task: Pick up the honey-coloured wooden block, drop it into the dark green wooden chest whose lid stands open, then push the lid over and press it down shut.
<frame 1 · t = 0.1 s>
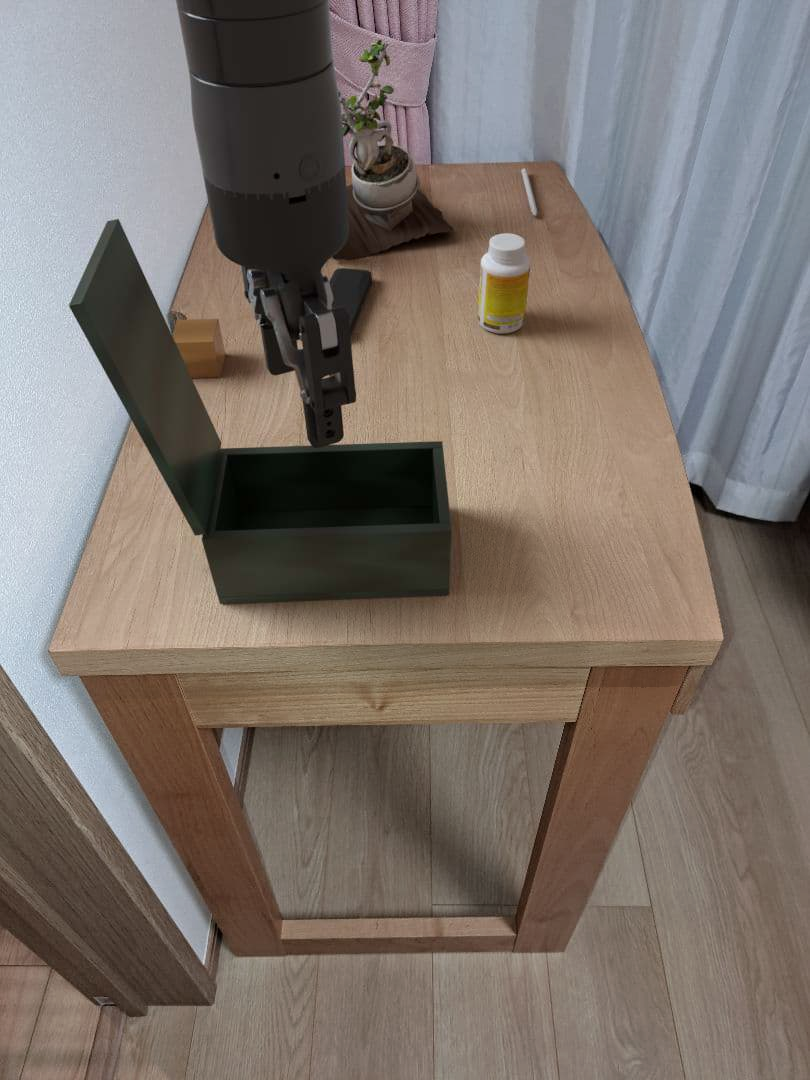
hand: (304, 404, 55), 20 cm above the table, tool pointing down, fingers open, 8 cm apart
block: (202, 366, 93), on the table
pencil: (529, 196, 121), on the table
remote control: (341, 310, 101), on the table
chest: (335, 552, 73), on the table
supplement bottle: (500, 324, 98), on the table
potted plant: (366, 226, 116), on the table
lid: (159, 387, 59), point 18 cm above the table, hinge at 100.0°
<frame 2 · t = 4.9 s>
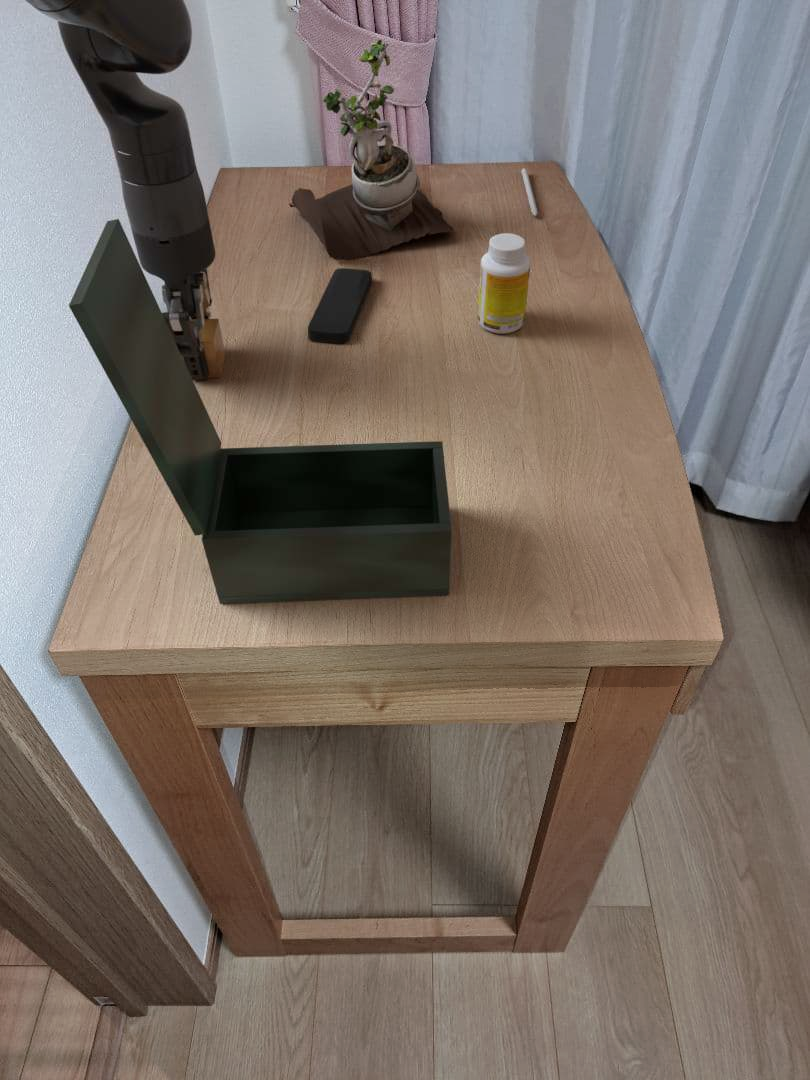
hand: (202, 363, 92), 0 cm above the table, tool pointing down, fingers closed on block, 4 cm apart
block: (202, 366, 93), on the table, touching gripper
everything else where it was.
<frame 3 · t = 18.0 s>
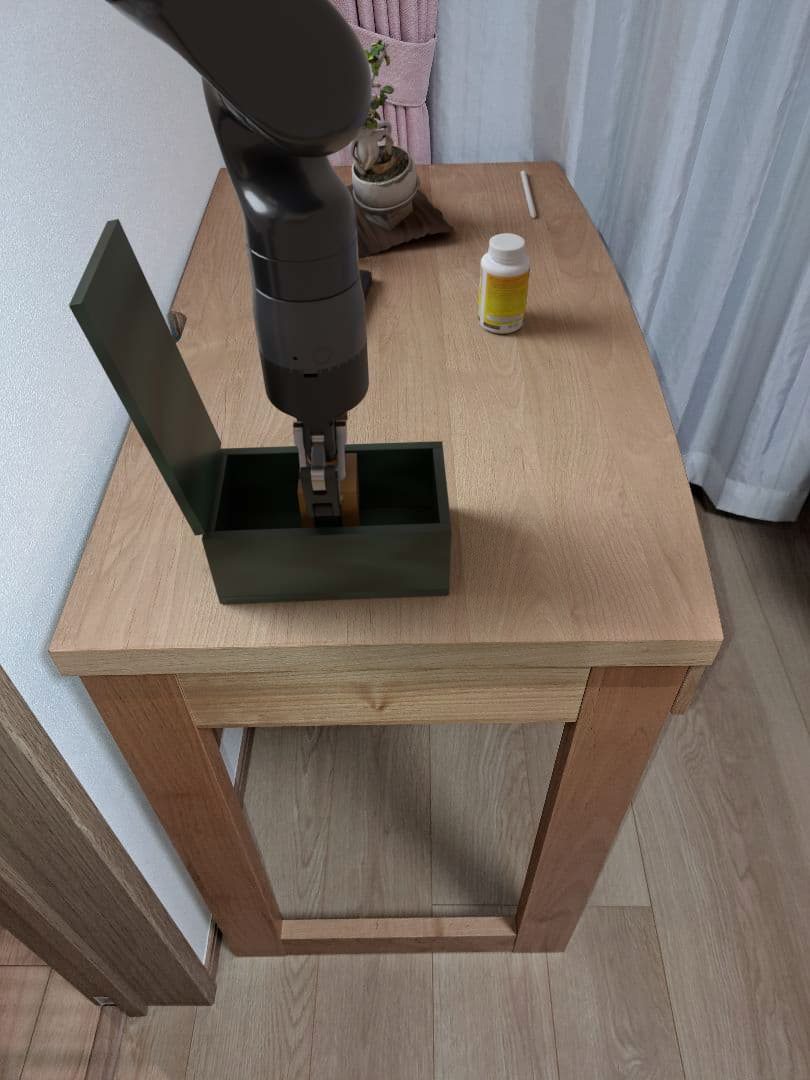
hand: (330, 510, 69), 5 cm above the table, tool pointing down, fingers closed on block, 4 cm apart
block: (331, 513, 69), point 5 cm above the table, touching gripper
everything else where it was.
when the fingers open (7 cm above the table, at t = 26.9 s): block drops 6 cm, resting on chest.
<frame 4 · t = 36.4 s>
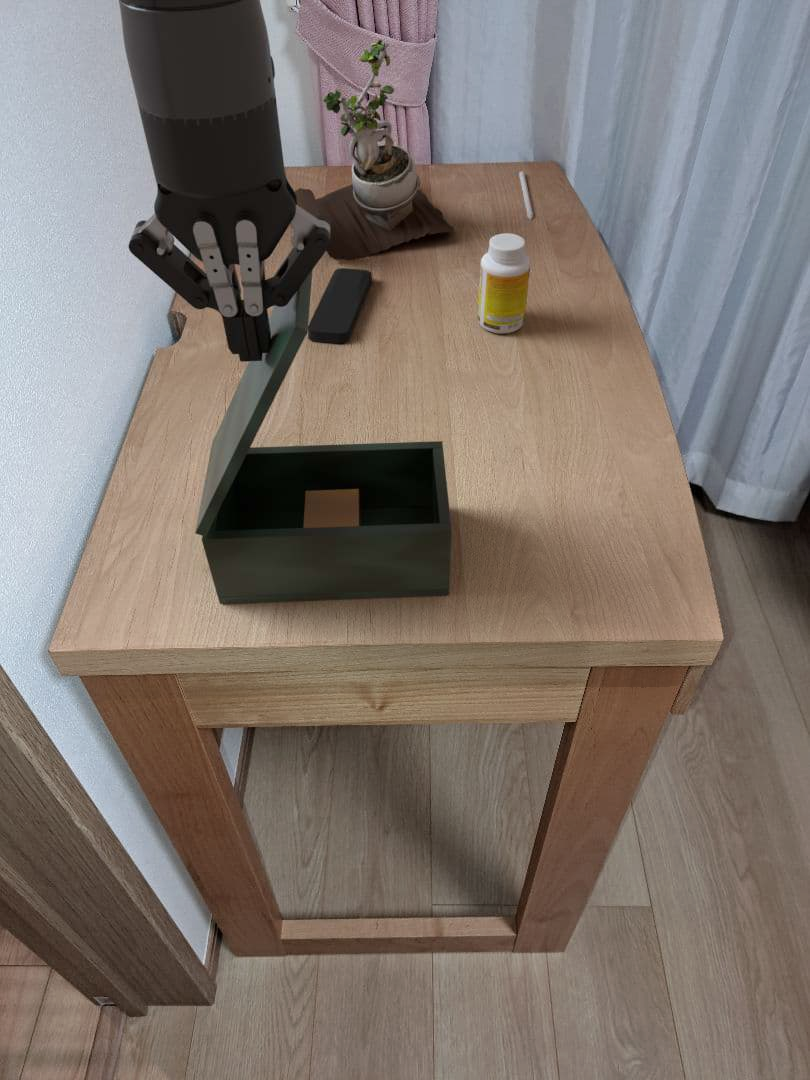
hand: (252, 354, 58), 21 cm above the table, tool pointing down, fingers closed
block: (335, 545, 72), point 1 cm above the table, touching chest
lid: (252, 395, 60), point 17 cm above the table, hinge at 61.6°, touching gripper
everything else where it was.
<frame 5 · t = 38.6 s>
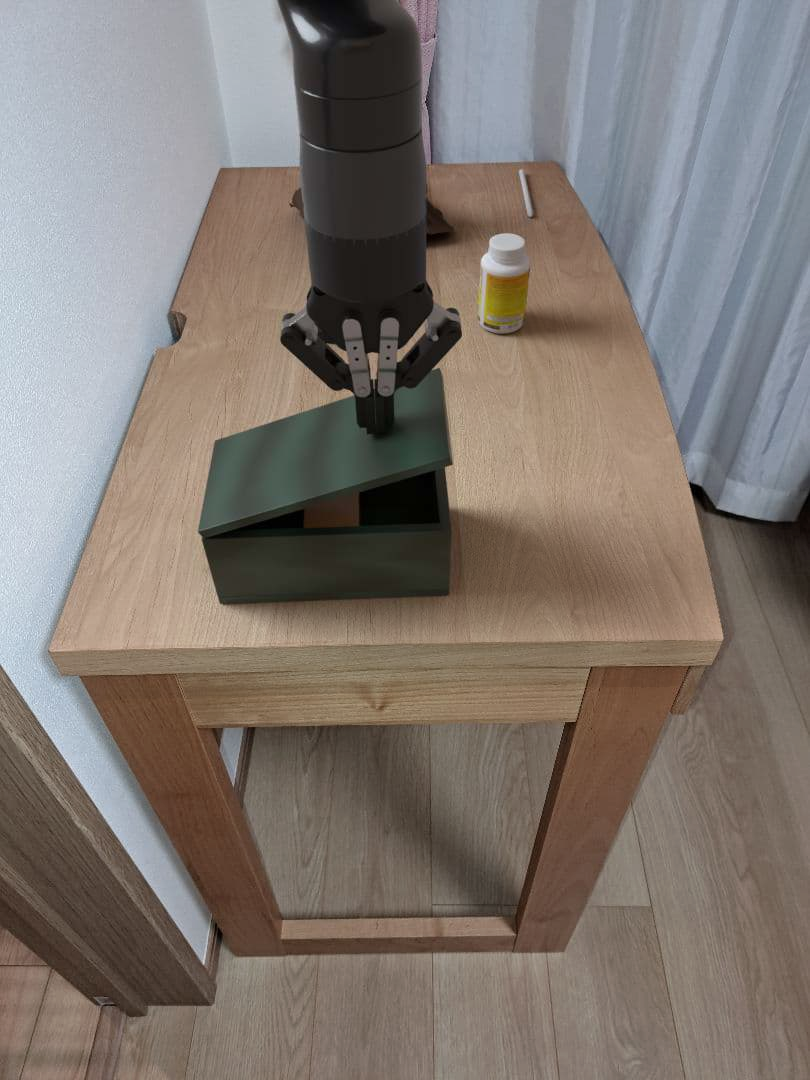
hand: (376, 427, 63), 14 cm above the table, tool pointing down, fingers closed
lid: (323, 451, 64), point 12 cm above the table, hinge at 19.3°, touching gripper
everything else where it was.
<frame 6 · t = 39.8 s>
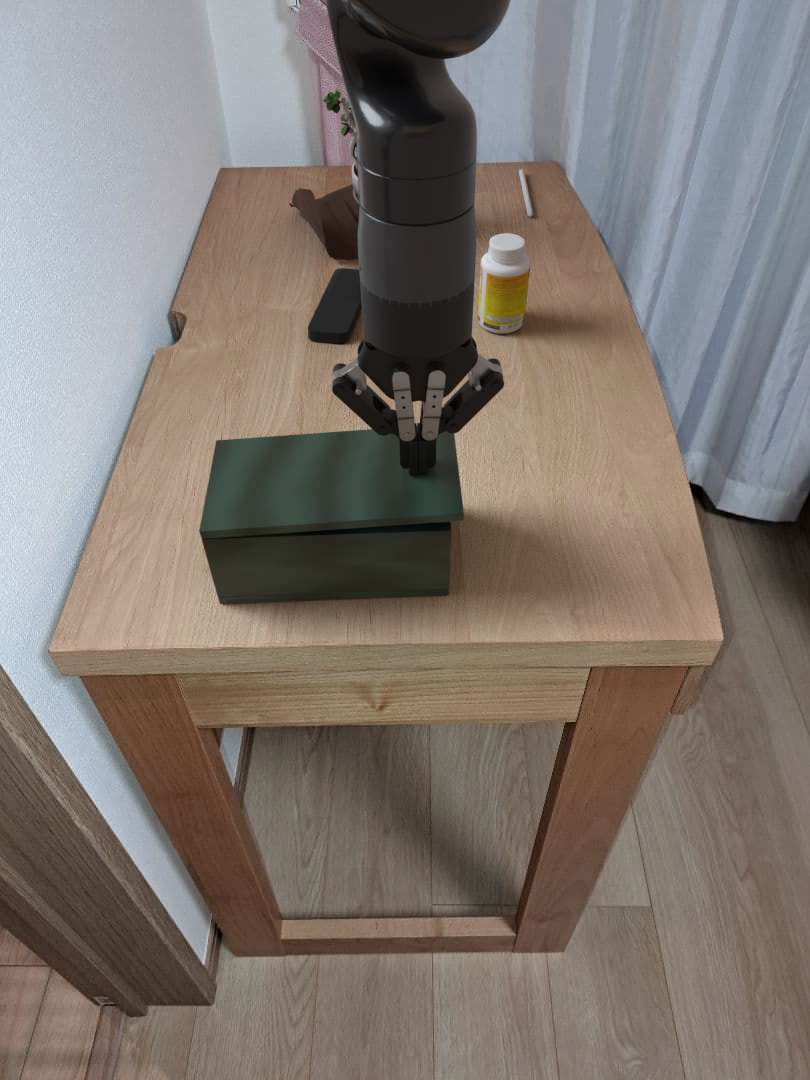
hand: (418, 467, 66), 10 cm above the table, tool pointing down, fingers closed
lid: (333, 478, 66), point 9 cm above the table, hinge at 2.8°, touching gripper
everything else where it was.
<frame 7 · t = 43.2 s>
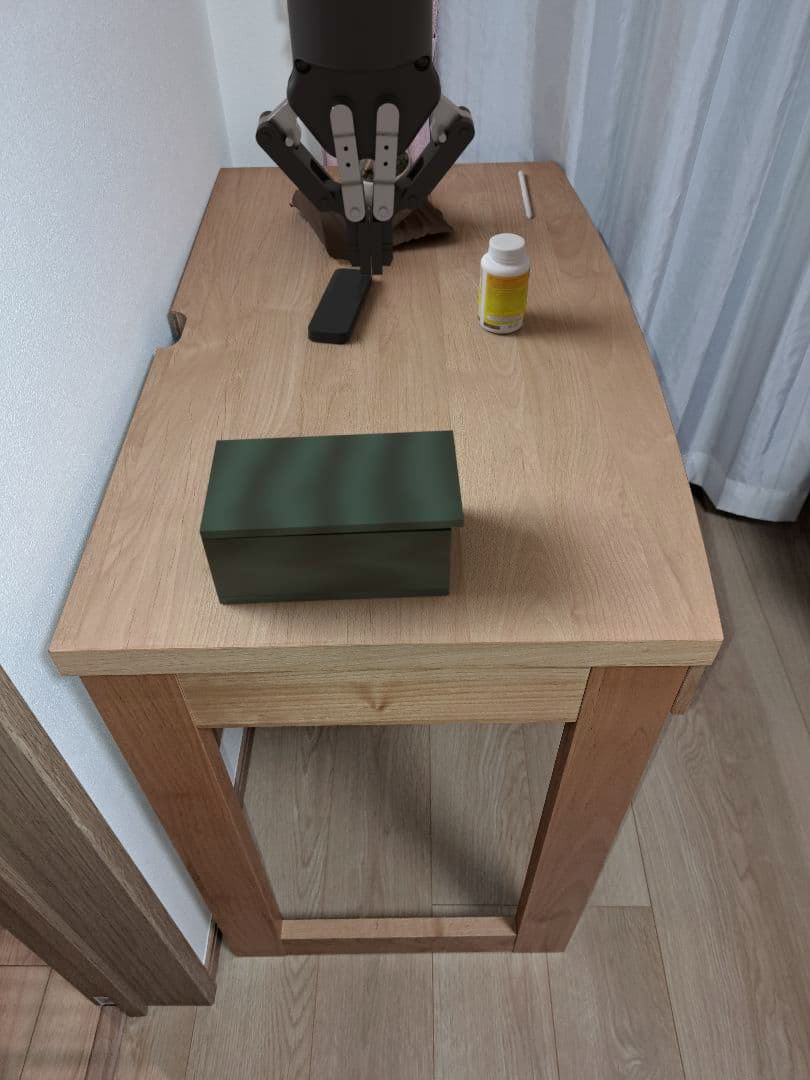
hand: (371, 269, 53), 27 cm above the table, tool pointing down, fingers closed
lid: (333, 481, 67), point 9 cm above the table, hinge at 0.7°
everything else where it was.
at the end: lid at +1° (first picture: +100°); block inside the target area in the chest (0.0 cm from its centre), point 0.9 cm above the chest's base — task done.
